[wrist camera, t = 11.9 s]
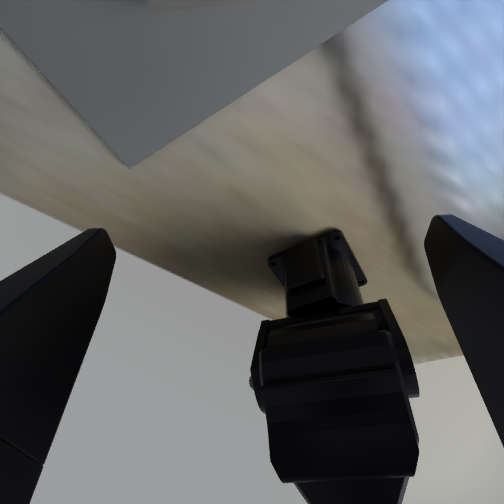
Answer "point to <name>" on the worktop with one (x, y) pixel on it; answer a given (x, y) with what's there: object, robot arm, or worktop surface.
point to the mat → (165, 58)
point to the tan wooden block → (191, 4)
